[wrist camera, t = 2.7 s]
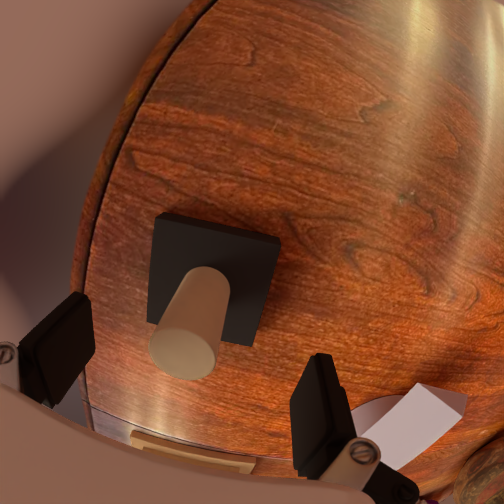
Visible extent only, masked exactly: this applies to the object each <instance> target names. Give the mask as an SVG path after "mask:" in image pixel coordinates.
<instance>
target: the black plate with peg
mask: <svg viewBox="0 0 504 504" xmlns="http://www.w3.org/2000/svg"><path fill="white" fill-rule="evenodd" d="M280 249H281V243H280V239H279V237H274V236H270V235H266V234H262V233H257V232H253V231H248V230H244V229H240V228H235V227H231V226H226V225H222V224H217V223H213V222H208V221H204V220H199V219H195V218H190V217H185V216H181V215H176V214H171V213H167V212H163V213H162V214H160V215H158V216H157V217H156V218H155V224H154V232H153V241H152V250H151V261H150V272H149V286H148V302H147V322H149V323H153V324H156V325H157V327H156V329H155V331H154V333H153V334H152V336H151V338H150V340H149V345H148V348H149V354H150V357H151V359H152V360H153V362H154V363H155V364H156V366H157V367H158V368H159V369H161V370H162V371H163V372H165V373H166V374H168V375H170V376H172V377H175V378H178V379H182V380H197V379H201V378H204V377H206V376H207V375H209V374H210V373H211V372H212V371H213V369H214V368H215V365H216V361H217V356H218V351H219V346H220V341H225V342H230V343H235V344H239V345H244V346H250V347H252V345H253V341H254V338H255V335H256V331H257V328H258V325H259V321H260V318H261V315H262V311H263V308H264V305H265V301H266V298H267V294H268V291H269V287H270V284H271V280H272V277H273V273H274V270H275V266H276V263H277V259H278V256H279V252H280Z"/></svg>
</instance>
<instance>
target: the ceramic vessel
mask: <svg viewBox="0 0 504 504" xmlns="http://www.w3.org/2000/svg"><path fill="white" fill-rule="evenodd" d="M453 499H454V501H455V503H456V504H504V436H503V437H501V438H498V439H496V440H494V441H492V442H490V443H489V444H487V445H486V446H484V447H483V448H481V449H480V450H478V451H477V452H475V453H474V454H473V455H472V456H471V457H470V458H469V459H468V461H467V462H466V463H465V465H464V466H463V468H462V469H461V471H460V472H459V474H458V476H457V479H456V481H455V484H454V489H453Z"/></svg>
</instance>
